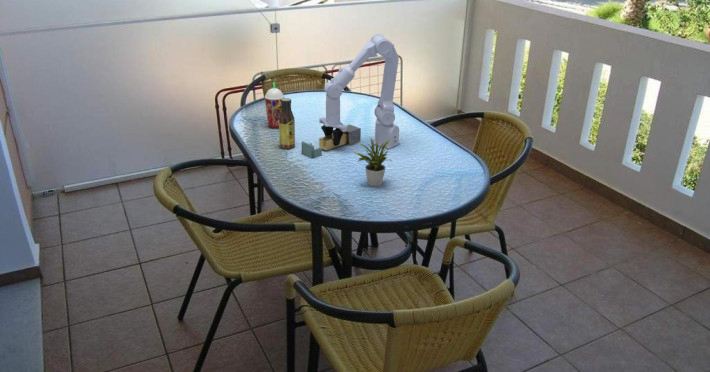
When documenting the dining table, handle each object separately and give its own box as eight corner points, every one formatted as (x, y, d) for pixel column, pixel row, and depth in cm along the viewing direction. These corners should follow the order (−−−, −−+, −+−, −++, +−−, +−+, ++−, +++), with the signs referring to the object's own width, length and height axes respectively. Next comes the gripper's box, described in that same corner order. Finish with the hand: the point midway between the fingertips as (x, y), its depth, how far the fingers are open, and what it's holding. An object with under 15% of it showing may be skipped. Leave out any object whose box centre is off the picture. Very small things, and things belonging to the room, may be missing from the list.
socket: (310, 150, 239) (310, 138, 237) (321, 155, 235) (321, 143, 232) (301, 153, 236) (301, 141, 234) (312, 158, 232) (312, 146, 229)
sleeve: (349, 137, 253) (350, 124, 250) (360, 141, 248) (360, 128, 246) (338, 141, 248) (338, 128, 246) (349, 145, 244) (349, 132, 242)
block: (347, 138, 250) (347, 129, 248) (354, 140, 247) (354, 131, 246) (319, 147, 240) (319, 138, 238) (325, 150, 237) (325, 141, 235)
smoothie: (283, 129, 260) (282, 85, 251) (264, 129, 260) (262, 84, 251) (286, 123, 267) (284, 79, 258) (267, 122, 267) (265, 79, 259)
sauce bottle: (292, 150, 239) (291, 102, 230) (277, 148, 240) (275, 101, 231) (297, 144, 244) (295, 97, 236) (282, 143, 245) (280, 96, 237)
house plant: (372, 170, 222) (374, 129, 215) (403, 180, 214) (405, 138, 207) (348, 182, 212) (348, 139, 205) (379, 193, 204) (380, 149, 197)
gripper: (313, 109, 238) (313, 141, 244) (338, 118, 229) (338, 151, 235) (326, 106, 243) (326, 137, 248) (351, 114, 233) (350, 146, 239)
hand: (333, 143), depth 242 cm, fingers closed on block, 4 cm apart
